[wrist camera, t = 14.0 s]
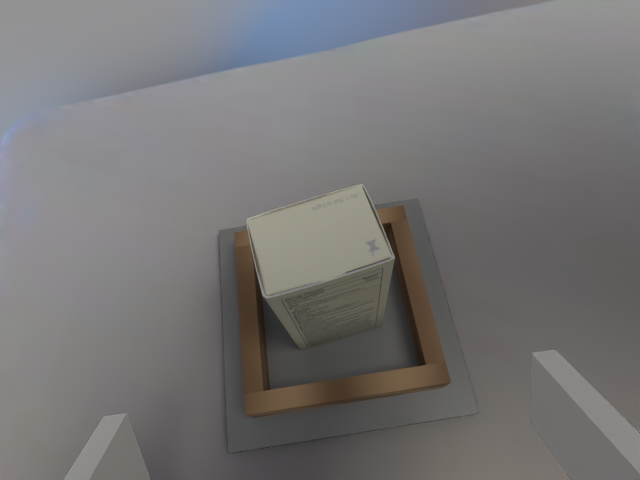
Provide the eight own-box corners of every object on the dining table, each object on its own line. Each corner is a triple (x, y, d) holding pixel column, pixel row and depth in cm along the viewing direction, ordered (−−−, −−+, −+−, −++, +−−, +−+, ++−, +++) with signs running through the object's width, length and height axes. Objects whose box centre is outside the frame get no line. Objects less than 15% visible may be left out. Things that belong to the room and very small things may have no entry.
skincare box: (363, 271, 32) (368, 177, 21) (384, 328, 30) (401, 258, 19) (281, 296, 31) (242, 213, 20) (296, 355, 29) (262, 299, 18)
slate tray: (415, 205, 35) (417, 198, 34) (475, 414, 28) (479, 413, 27) (222, 236, 35) (218, 230, 34) (231, 453, 28) (227, 453, 27)
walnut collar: (400, 221, 33) (403, 205, 31) (443, 387, 28) (451, 382, 25) (242, 247, 33) (234, 232, 31) (254, 418, 28) (244, 415, 25)
